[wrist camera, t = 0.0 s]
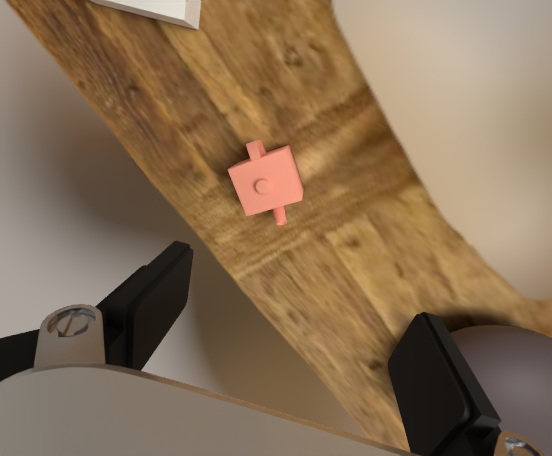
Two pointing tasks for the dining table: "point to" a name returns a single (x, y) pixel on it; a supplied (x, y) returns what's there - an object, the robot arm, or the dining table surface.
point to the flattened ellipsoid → (513, 377)
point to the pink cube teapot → (267, 180)
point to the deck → (161, 10)
